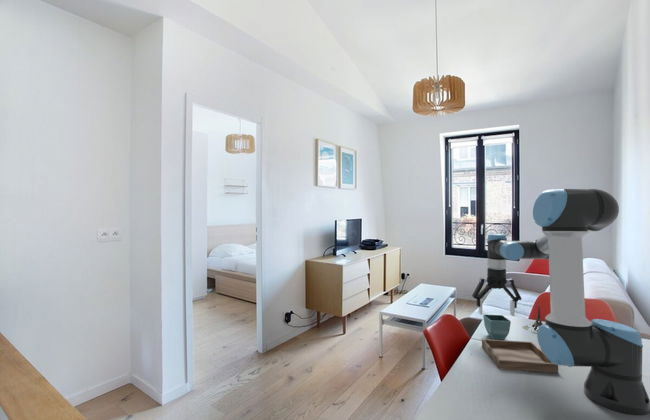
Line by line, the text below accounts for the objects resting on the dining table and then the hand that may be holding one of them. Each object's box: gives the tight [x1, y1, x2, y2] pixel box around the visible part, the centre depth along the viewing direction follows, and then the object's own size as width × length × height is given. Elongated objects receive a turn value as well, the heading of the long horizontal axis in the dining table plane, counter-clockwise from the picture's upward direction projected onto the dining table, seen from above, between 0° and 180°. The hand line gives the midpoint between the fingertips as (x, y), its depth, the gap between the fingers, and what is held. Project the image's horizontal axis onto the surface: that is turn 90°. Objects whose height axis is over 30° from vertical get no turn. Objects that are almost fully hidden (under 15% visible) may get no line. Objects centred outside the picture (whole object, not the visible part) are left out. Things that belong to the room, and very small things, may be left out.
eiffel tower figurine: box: [521, 304, 544, 335], centre depth 158 cm, size 15×10×13 cm
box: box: [481, 338, 559, 374], centre depth 127 cm, size 20×20×3 cm
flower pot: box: [482, 314, 512, 340], centre depth 148 cm, size 9×9×9 cm
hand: (496, 314), depth 148 cm, fingers open, 13 cm apart
